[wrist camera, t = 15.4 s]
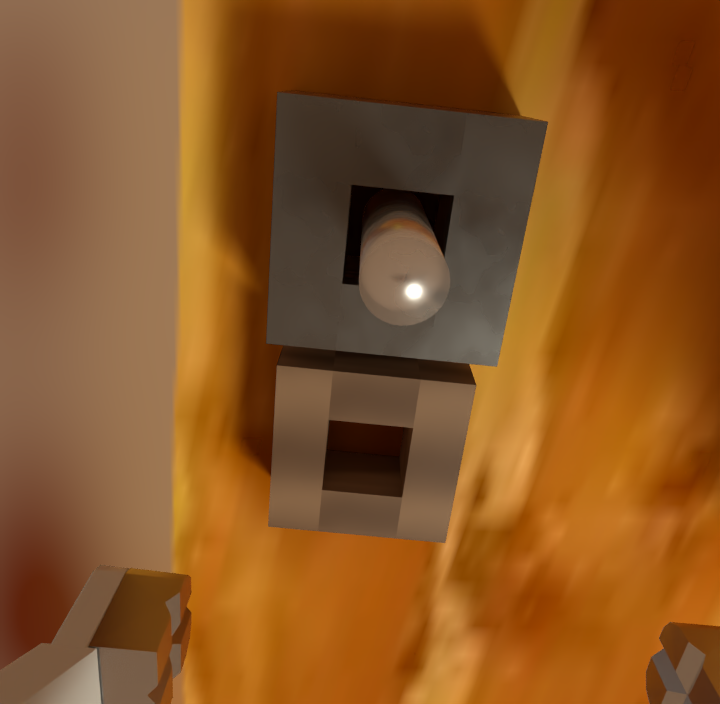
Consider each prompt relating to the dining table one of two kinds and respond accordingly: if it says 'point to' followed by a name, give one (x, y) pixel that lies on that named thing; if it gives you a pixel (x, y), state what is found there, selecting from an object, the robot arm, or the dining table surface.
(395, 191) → the steel peg
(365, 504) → the socket block
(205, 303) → the dining table surface
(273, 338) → the grey square-hole block
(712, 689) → the robot arm
